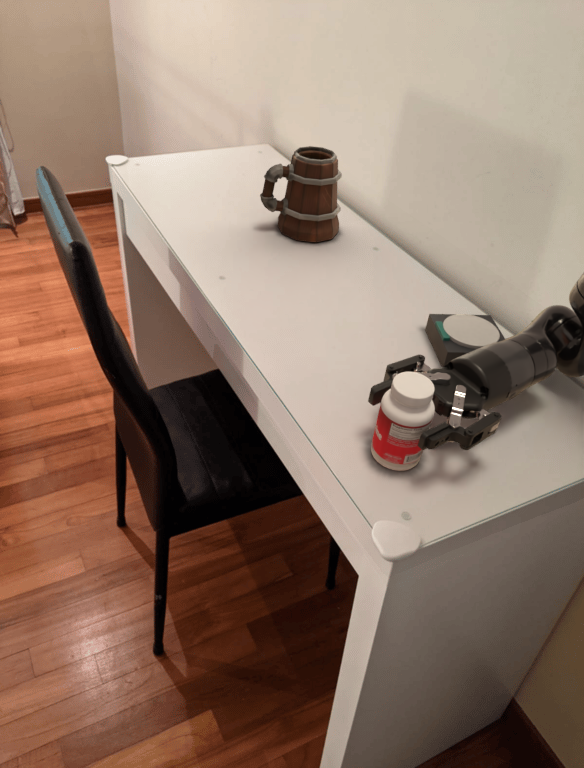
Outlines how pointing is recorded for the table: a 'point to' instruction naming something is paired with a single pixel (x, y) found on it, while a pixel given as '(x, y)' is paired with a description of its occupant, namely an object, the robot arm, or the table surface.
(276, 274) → the table surface
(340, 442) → the table surface
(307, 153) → the mug
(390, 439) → the pill bottle
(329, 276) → the table surface
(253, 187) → the table surface
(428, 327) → the scale
